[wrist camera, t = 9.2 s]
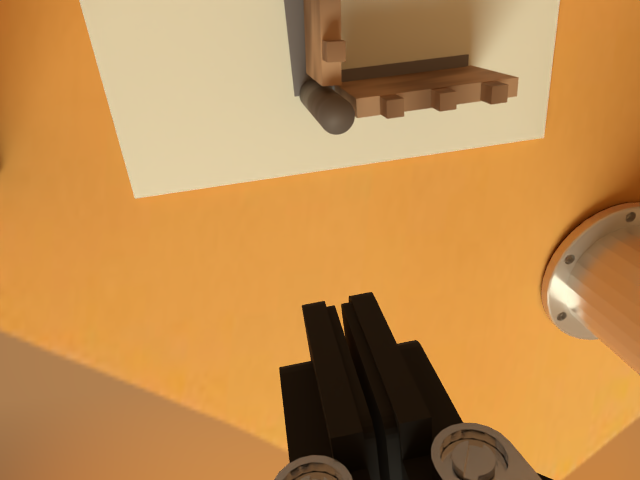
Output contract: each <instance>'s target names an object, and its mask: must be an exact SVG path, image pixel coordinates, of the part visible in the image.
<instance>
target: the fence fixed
mask: <svg viewBox="0 0 640 480" xmlns="http://www.w3.org/2000/svg"><path fill="white" fill-rule="evenodd" d="M518 79H519V77H515V76H511V75H507V74H503V73H499V72H496V71H492V70H488V69H484V68H480V67H476V66H472V65H470V66H466V67H458V68H450V69H443V70H435V71H427V72H419V73H411V74H403V75H395V76H387V77H379V78H371V79H364V80H356V81H348V82H341V84H342V85H335V86H334V88H335V91H334V90H333V89H331V88H330V87H329V86H321V85H320V84H319V83H317V82H316V81H315V80H314V79H311V80H308V81H306V82H305V83H304V84H303V85H302V87H301V89H300V96H299V98H300V100H301V102H302V104H303V105H304V106H305V107H306V108H307V110H308V111H309V112H310V113H311V114H312V116H313V117H314V118H315V119H316V120H317V122H318V123H319V124H320V125H321V126H322V128H323V129H324V130H325V131H326V132H328V133H330V134H333V135H339V134H343V133H345V132H346V131H348V130H349V129H350V128H351V126H352V125H353V123H354V119H355V117H356V118H362V117H369V116H377V115H382V116H384V117H385V118H387V119H390V118H397V117H404V112H406V111H413V110H421V109H428V108H434V109H436V110H438V111H440V112H441V111H448V110H455V109H456V108H457V104H465V103H472V102H479V101H483V102H485V103H488V104H491V105H492V104H499V103H506V102H507V99H508V98H509V97H516V96H517V91H518Z"/></svg>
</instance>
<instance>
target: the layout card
mask: <svg viewBox="0 0 640 480" xmlns="http://www.w3.org/2000/svg"><path fill="white" fill-rule="evenodd" d="M79 1H80V4H81V8H82V12H83V15H84V19H85V22H86V26H87V29H88V33H89V37H90V40H91V44H92V47H93V51H94V54H95V58H96V61H97V65H98V69H99V72H100V76H101V79H102V83H103V86H104V90H105V94H106V97H107V101H108V104H109V108H110V111H111V115H112V119H113V122H114V126H115V129H116V133H117V136H118V140H119V144H120V147H121V151H122V154H123V158H124V161H125V165H126V168H127V172H128V176H129V179H130V183H131V186H132V190H133V193H134V197H135V198H142V197H149V196H156V195H162V194H169V193H176V192H182V191H189V190H196V189H203V188H209V187H216V186H223V185H230V184H236V183H243V182H250V181H256V180H263V179H270V178H277V177H283V176H290V175H297V174H303V173H310V172H317V171H324V170H330V169H337V168H344V167H350V166H357V165H364V164H371V163H377V162H384V161H391V160H398V159H404V158H411V157H418V156H424V155H431V154H438V153H445V152H451V151H458V150H465V149H471V148H478V147H485V146H492V145H498V144H505V143H512V142H518V141H525V140H532V139H539V138H544V133H545V124H546V116H547V107H548V98H549V90H550V81H551V73H552V64H553V55H554V47H555V38H556V29H557V21H558V12H559V3H560V0H341V40H344V41H346V62H341V82H348V81H356V80H364V79H371V78H379V77H387V76H395V75H403V74H411V73H419V72H427V71H435V70H443V69H450V68H458V67H466V66H470V65H472V66H476V67H480V68H484V69H488V70H492V71H496V72H499V73H503V74H507V75H511V76H515V77H519V79H518V91H517V96H516V97H509V98H508V99H507V102H506V103H499V104H492V105H491V104H488V103H485V102H483V101H479V102H472V103H465V104H457V108H456V109H455V110H448V111H441V112H440V111H438V110H436V109H434V108H428V109H421V110H413V111H406V112H404V117H397V118H390V119H387V118H385V117H384V116H382V115H377V116H369V117H362V118H356V117H355V119H354V123H353V125H352V126H351V128H350V129H349V130H348V131H346V132H345V133H343V134H339V135H333V134H330V133H328V132H326V131H325V130H324V129H323V128H322V126H321V125H320V124H319V123H318V122H317V120H316V119H315V118H314V117H313V116H312V114H311V113H310V112H309V111H308V110H307V108H306V107H305V106H304V105H303V104H302V102H301V100H300V98H299V96H300V89H301V87H302V85H303V84H304V83H305V82H306V81H308V80H311V79H313V78H311V77H310V76H309V75H308V74H306V55H305V29H304V3H303V0H79ZM329 87H330V88H331V89H333V90H334V91H335V88H334V86H329Z"/></svg>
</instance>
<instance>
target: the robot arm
mask: <svg viewBox="0 0 640 480" xmlns="http://www.w3.org/2000/svg"><path fill="white" fill-rule="evenodd" d="M541 295H542V304H543V307H544V310H545V312H546V314H547V316H548V317H549V319H550V320H551V321H552V322H553V323H554V324H555V325H556V326H557V327H558V328H559V329H560V330H561V331H563V332H564V333H566V334H568V335H569V336H572V337H575V338H578V339H587V340H595V339H599V340H601V341H602V342H603V343H604V344H605V345H606V346H607V347H608V348H610V349H611V350H612V351H613V352H614V353H615V354H616V355H618V356H619V357H620V358H621V359H622V360H623V361H624V362H625V363H627V364H628V365H629V366H630V367H631V368H632V369H633V370H634V371H636V372H637V373H638V374H639V375H640V202H637V203H625V204H621V205H616V206H613V207H610V208H608V209H605V210H603V211H601V212H599V213H597V214H595V215H594V216H592V217H590V218H589V219H587V220H585V221H584V222H583V223H582V224H580V225H579V226H578V227H577V228H575V229H574V230H573V231H572V232H571V233H570V234H569V235H568V236H567V237H566V238H565V240H564V241H563V242H562V243H561V244H560V246H559V247H558V249H557V250H556V251H555V253H554V254H553V256H552V258H551V260H550V262H549V264H548V266H547V268H546V272H545V275H544V278H543V282H542V291H541ZM341 308H342V316H343V324H344V332H345V336H344V332H343V329H342V326H341V323H340V320H339V317H338V314H337V311H336V308H335V306H328V307H326V304H325V301H322V302H316V303H311V304H306V305H302V310H303V316H304V322H305V327H306V333H307V339H308V345H309V351H310V357H311V361H309V362H304V363H299V364H294V365H289V366H284V367H280V368H279V370H280V380H281V389H282V398H283V407H284V416H285V425H286V434H287V442H288V451H289V460H290V463H289V464H288V465H287V466H286V467H284V468H283V469H282V470H281V471H280V472H279V473H278V475H277V476H276V478H275V480H553V479H550V478H548V477H545V476H543V475H541V474H538V473H536V472H535V471H534V470H533V468H532V467H531V466H530V465H529V464H528V463H527V461H526V460H525V459H524V458H523V457H522V455H521V454H520V453H519V452H518V451H517V450H516V448H515V447H514V446H513V445H512V444H511V442H510V441H509V440H507V439H506V438H505V437H504V436H503V435H502V434H501V433H499V432H498V431H496V430H494V429H492V428H490V427H488V426H484V425H480V424H477V423H463V422H462V420H461V418H460V416H459V414H458V413H457V411H456V409H455V407H454V405H453V403H452V402H451V400H450V398H449V396H448V394H447V392H446V390H445V389H444V387H443V385H442V383H441V381H440V379H439V378H438V376H437V374H436V372H435V370H434V368H433V367H432V365H431V363H430V361H429V359H428V357H427V356H426V354H425V352H424V350H423V348H422V346H421V345H420V343H419V342H418V341H417V340H414V341H409V342H404V343H399V344H397V343H396V341H395V339H394V337H393V335H392V333H391V330H390V328H389V326H388V324H387V322H386V320H385V318H384V316H383V314H382V312H381V309H380V307H379V305H378V303H377V301H376V299H375V297H374V295H373V293H372V292H369V293H364V294H358V295H353V296H349V303H344V304H341Z"/></svg>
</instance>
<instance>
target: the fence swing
mask: <svg viewBox="0 0 640 480" xmlns="http://www.w3.org/2000/svg"><path fill="white" fill-rule="evenodd" d="M303 3H304V29H305V55H306V74H308V75H309V76H310V77H311V78H313V79H314V80H315V81H316V82H317V83H319V84H320V85H321V86H335V85H342V84H341V62H346V41H344V40H341V0H303Z"/></svg>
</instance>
